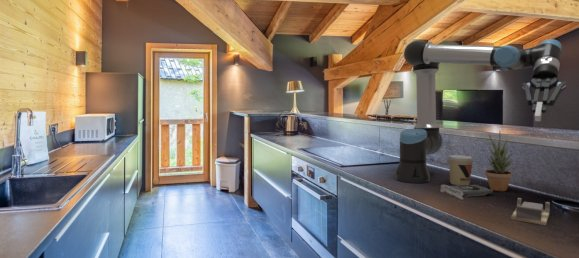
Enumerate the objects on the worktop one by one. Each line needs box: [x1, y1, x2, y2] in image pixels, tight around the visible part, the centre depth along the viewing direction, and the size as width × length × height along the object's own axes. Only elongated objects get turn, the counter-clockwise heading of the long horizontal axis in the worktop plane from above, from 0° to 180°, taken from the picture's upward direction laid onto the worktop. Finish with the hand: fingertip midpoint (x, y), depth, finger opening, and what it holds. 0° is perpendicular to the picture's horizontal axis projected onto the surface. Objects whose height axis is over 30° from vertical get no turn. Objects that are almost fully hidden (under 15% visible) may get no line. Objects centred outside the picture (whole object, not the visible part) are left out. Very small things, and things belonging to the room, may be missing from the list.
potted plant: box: [484, 131, 514, 192], centre depth 139 cm, size 10×10×25 cm
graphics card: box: [440, 184, 494, 200], centre depth 132 cm, size 17×4×12 cm
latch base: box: [510, 197, 551, 226], centre depth 106 cm, size 14×8×4 cm, turn 139°
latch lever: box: [521, 201, 544, 210], centre depth 107 cm, size 2×5×11 cm
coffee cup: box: [448, 154, 474, 186], centre depth 150 cm, size 9×9×12 cm
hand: (537, 118), depth 115 cm, fingers closed
